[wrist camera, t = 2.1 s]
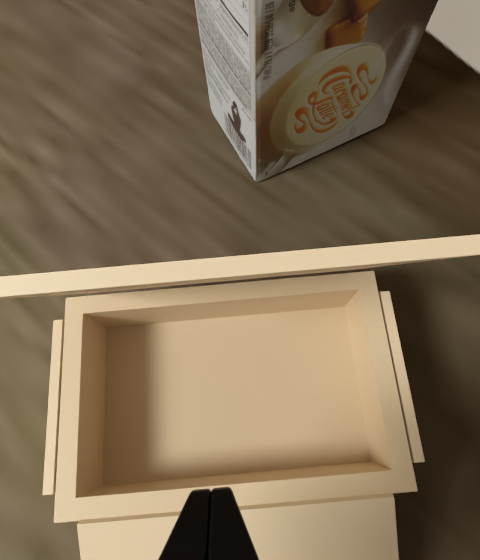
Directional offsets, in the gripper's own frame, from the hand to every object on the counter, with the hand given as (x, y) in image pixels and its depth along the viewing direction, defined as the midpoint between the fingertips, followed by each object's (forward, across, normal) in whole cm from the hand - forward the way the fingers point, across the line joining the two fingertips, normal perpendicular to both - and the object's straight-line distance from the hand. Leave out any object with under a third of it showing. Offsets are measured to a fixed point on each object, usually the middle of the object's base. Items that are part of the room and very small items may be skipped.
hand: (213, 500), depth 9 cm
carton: (+7, 0, +9) cm, 12 cm away
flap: (+6, 0, -2) cm, 6 cm away
